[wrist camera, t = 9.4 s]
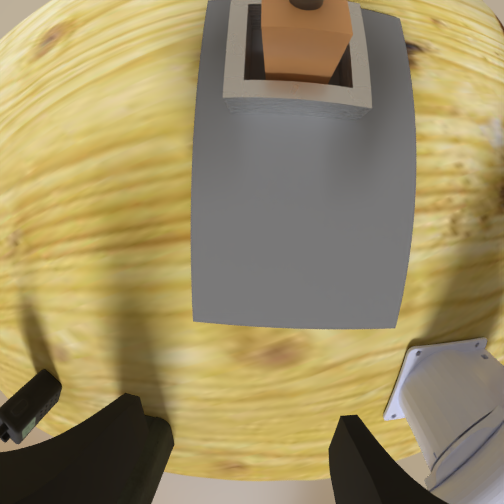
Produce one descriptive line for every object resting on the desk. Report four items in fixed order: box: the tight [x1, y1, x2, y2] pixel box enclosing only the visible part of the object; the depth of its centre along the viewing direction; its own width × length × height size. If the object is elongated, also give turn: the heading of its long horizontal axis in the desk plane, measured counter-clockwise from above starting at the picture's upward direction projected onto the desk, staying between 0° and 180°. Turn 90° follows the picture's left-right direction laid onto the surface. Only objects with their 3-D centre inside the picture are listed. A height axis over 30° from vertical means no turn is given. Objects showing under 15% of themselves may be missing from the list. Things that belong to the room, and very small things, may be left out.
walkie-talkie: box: [0, 369, 62, 444], centre depth 15 cm, size 5×3×15 cm
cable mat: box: [191, 0, 416, 329], centre depth 15 cm, size 14×23×1 cm, turn 178°
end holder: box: [223, 0, 372, 122], centre depth 13 cm, size 8×8×3 cm
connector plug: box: [261, 0, 353, 85], centre depth 10 cm, size 4×4×9 cm
